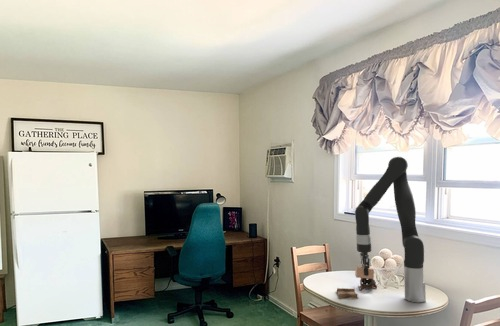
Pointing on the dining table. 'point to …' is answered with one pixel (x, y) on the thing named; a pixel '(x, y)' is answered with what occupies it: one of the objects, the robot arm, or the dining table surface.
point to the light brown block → (360, 273)
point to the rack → (346, 293)
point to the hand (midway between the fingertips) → (365, 274)
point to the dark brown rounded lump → (367, 283)
